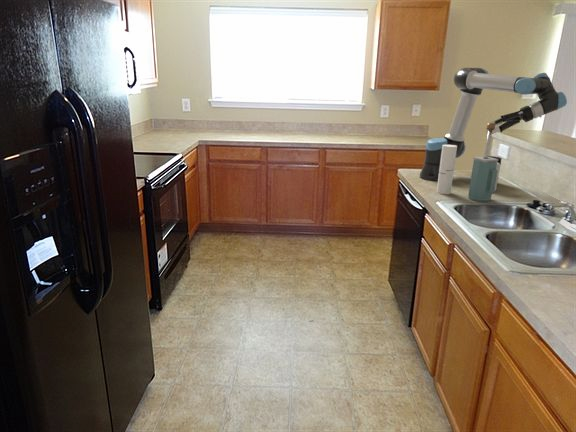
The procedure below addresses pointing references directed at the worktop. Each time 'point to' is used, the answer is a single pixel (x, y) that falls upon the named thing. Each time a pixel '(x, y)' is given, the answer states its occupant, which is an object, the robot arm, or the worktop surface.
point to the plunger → (489, 138)
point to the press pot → (483, 179)
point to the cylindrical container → (446, 169)
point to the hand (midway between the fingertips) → (487, 130)
